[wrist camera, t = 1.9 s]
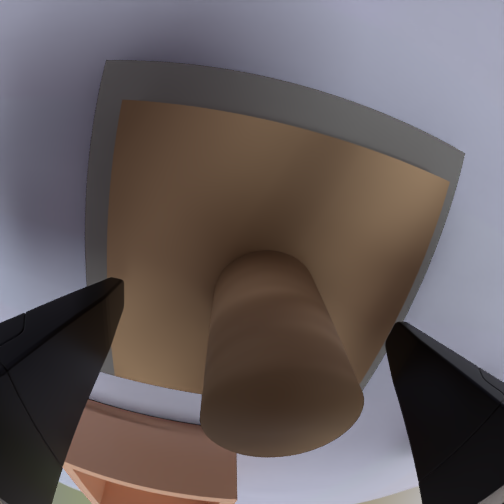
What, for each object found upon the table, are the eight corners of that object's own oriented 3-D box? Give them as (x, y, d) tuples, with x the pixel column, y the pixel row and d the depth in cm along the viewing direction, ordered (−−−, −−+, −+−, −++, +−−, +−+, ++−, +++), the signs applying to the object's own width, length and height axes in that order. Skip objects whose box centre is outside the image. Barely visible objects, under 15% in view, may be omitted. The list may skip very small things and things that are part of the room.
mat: (456, 151, 10) (465, 153, 9) (350, 396, 15) (353, 403, 14) (112, 63, 8) (106, 60, 8) (101, 363, 13) (97, 370, 13)
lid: (431, 175, 10) (557, 230, 4) (341, 386, 14) (374, 488, 8) (135, 102, 8) (8, 83, 3) (122, 358, 12) (81, 468, 7)
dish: (236, 429, 16) (237, 499, 11) (216, 482, 20) (215, 529, 15) (81, 396, 15) (56, 458, 10) (104, 459, 18) (93, 504, 14)
